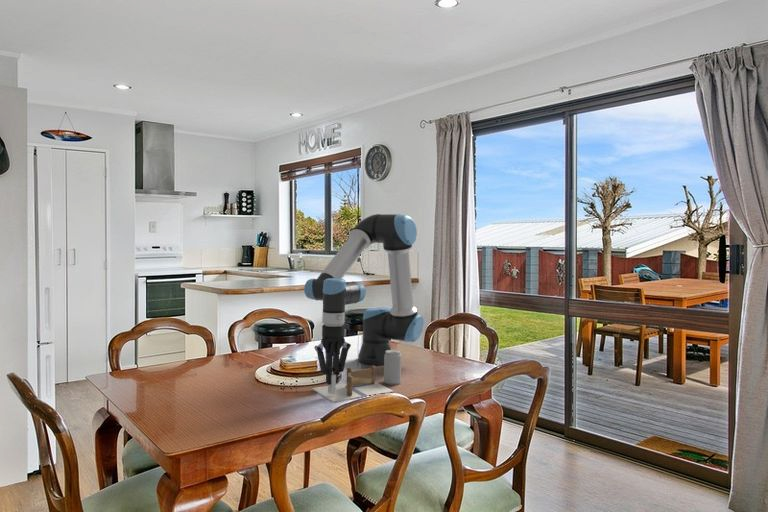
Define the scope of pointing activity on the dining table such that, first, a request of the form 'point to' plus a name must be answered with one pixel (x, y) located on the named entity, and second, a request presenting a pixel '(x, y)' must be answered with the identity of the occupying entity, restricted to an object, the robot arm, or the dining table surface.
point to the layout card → (356, 391)
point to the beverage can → (392, 367)
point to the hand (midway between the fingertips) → (331, 393)
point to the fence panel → (349, 384)
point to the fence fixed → (362, 376)
